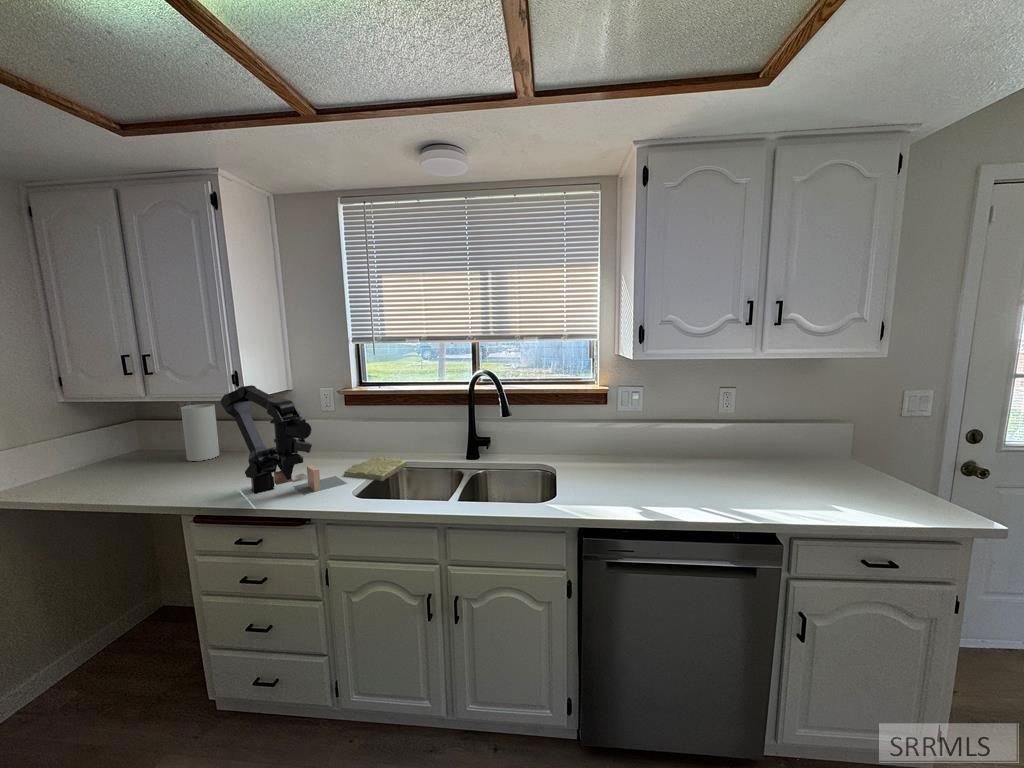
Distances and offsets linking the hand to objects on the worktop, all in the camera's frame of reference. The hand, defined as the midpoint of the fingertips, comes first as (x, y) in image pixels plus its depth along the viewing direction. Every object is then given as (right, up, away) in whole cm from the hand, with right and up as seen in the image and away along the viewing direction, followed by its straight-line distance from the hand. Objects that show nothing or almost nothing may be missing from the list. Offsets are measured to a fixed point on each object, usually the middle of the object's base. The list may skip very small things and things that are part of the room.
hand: (287, 478), depth 148 cm
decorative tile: (+23, -4, +27) cm, 36 cm away
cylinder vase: (-66, -1, +48) cm, 82 cm away
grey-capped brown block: (+1, -1, +1) cm, 1 cm away
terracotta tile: (+6, -5, +7) cm, 11 cm away
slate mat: (+7, -5, +10) cm, 14 cm away
